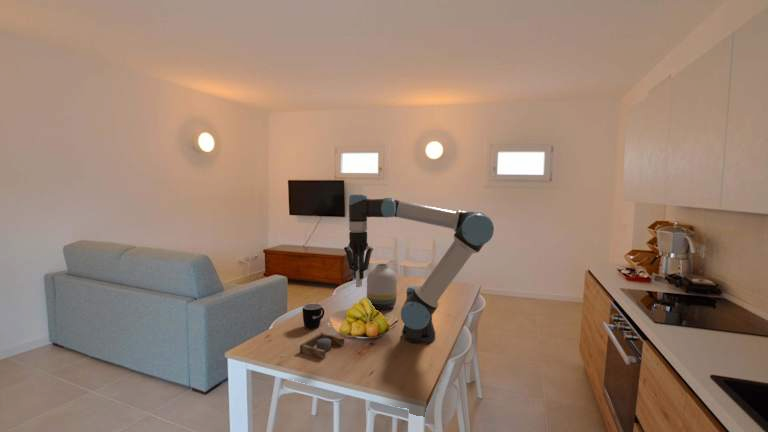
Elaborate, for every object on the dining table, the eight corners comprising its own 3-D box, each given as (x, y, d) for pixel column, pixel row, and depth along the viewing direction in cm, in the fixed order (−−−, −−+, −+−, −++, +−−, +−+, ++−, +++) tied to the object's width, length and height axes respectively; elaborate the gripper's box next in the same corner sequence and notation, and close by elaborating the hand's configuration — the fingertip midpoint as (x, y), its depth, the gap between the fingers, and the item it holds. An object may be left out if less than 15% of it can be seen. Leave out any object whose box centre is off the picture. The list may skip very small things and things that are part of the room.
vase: (391, 313, 192) (392, 269, 190) (361, 309, 197) (362, 266, 195) (400, 303, 208) (401, 263, 206) (372, 300, 213) (373, 260, 211)
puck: (333, 348, 150) (333, 339, 150) (325, 353, 144) (325, 345, 144) (322, 345, 152) (322, 337, 152) (313, 350, 147) (313, 342, 147)
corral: (344, 345, 152) (344, 338, 152) (323, 359, 140) (323, 351, 139) (321, 339, 158) (321, 332, 158) (300, 352, 145) (300, 345, 145)
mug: (311, 332, 165) (311, 310, 164) (298, 327, 171) (298, 306, 170) (330, 324, 175) (330, 304, 174) (317, 320, 180) (317, 300, 179)
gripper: (376, 230, 151) (376, 285, 153) (348, 229, 156) (349, 282, 158) (368, 232, 144) (368, 290, 146) (340, 231, 149) (341, 287, 151)
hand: (359, 286), depth 152 cm, fingers closed
